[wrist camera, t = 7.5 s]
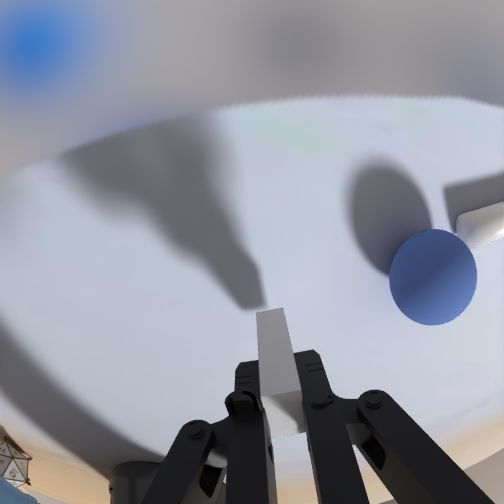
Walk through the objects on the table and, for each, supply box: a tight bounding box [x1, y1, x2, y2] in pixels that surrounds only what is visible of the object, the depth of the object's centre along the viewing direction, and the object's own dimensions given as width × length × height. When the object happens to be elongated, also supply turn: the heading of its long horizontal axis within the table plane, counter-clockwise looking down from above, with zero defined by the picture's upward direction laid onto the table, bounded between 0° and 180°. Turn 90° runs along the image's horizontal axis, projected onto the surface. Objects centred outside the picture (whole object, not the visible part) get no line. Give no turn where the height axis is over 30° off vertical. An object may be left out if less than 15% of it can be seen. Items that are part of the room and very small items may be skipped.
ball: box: [389, 229, 477, 325], centre depth 15 cm, size 6×6×6 cm
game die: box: [0, 436, 32, 488], centre depth 22 cm, size 9×8×10 cm
